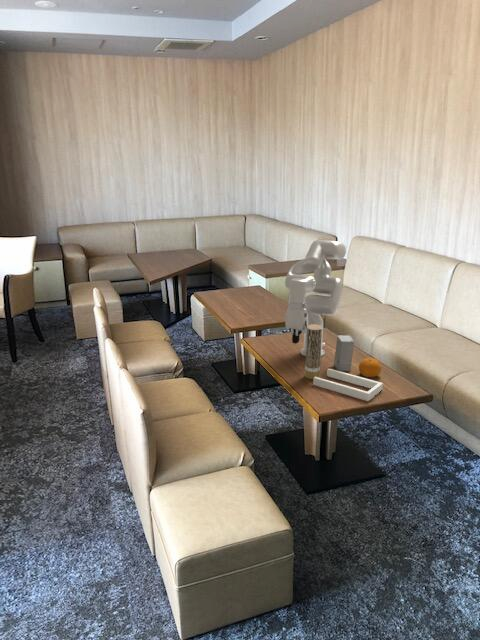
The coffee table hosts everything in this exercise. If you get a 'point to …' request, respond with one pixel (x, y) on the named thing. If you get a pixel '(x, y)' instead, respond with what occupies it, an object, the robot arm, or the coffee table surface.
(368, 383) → the u-rest
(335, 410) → the coffee table surface
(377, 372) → the fruit
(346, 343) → the skincare box
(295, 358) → the coffee table surface
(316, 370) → the paper tube
